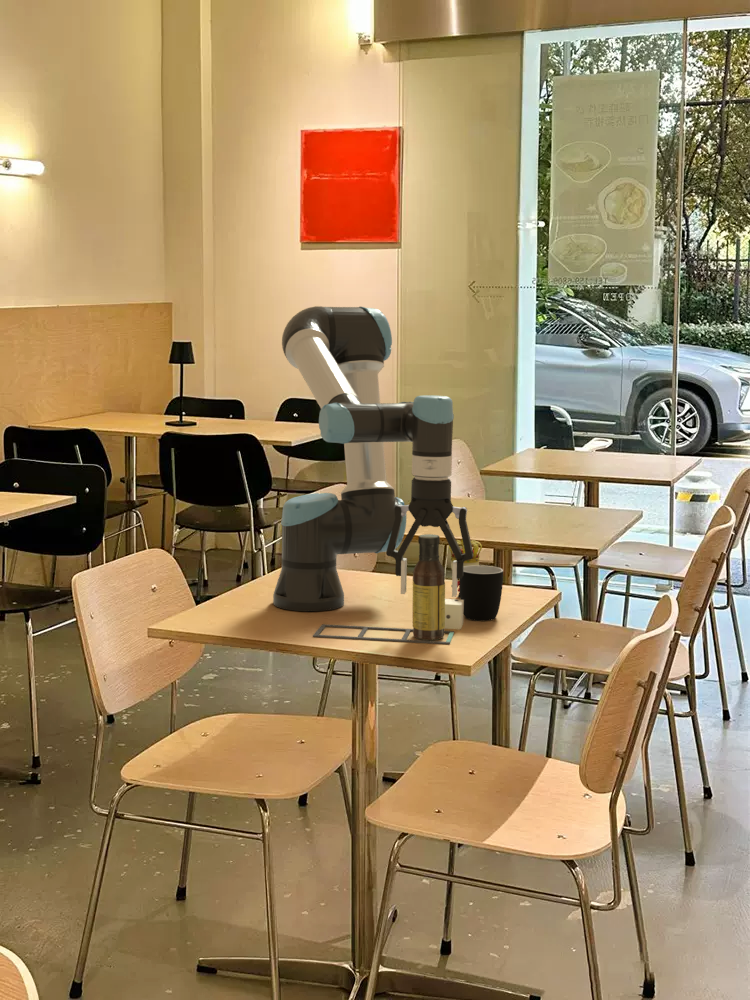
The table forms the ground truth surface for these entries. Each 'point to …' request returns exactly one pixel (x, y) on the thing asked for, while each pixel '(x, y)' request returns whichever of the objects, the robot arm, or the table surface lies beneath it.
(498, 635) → the table surface
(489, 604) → the mug
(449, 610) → the die
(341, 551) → the robot arm
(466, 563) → the toy
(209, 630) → the table surface
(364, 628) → the board
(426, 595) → the sauce bottle
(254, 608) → the table surface
